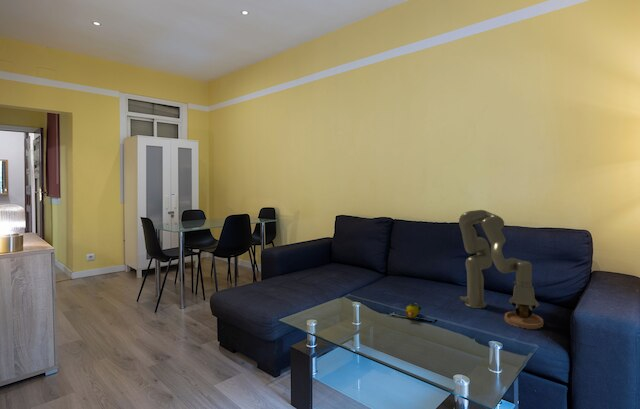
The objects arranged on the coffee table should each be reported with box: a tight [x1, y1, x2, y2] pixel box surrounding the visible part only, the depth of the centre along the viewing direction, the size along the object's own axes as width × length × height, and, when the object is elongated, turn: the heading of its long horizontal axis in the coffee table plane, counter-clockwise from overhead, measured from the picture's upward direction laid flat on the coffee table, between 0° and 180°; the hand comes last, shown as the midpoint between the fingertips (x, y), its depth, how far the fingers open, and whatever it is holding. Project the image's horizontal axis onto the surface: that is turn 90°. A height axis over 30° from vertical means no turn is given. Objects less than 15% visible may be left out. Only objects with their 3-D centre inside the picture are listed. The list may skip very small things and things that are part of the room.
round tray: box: [503, 310, 544, 330], centre depth 191 cm, size 19×19×2 cm
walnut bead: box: [518, 304, 529, 319], centre depth 190 cm, size 5×5×7 cm
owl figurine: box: [387, 302, 423, 320], centre depth 203 cm, size 28×9×15 cm
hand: (523, 315), depth 190 cm, fingers closed on walnut bead, 5 cm apart
